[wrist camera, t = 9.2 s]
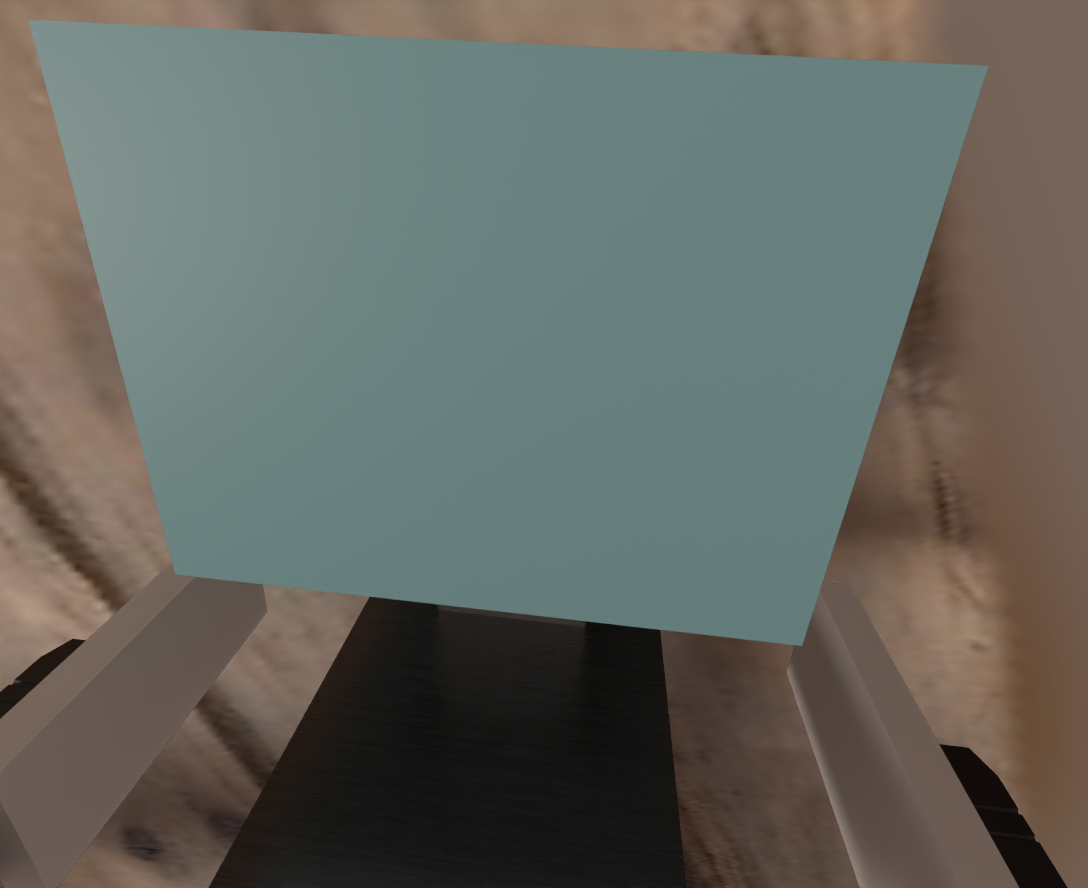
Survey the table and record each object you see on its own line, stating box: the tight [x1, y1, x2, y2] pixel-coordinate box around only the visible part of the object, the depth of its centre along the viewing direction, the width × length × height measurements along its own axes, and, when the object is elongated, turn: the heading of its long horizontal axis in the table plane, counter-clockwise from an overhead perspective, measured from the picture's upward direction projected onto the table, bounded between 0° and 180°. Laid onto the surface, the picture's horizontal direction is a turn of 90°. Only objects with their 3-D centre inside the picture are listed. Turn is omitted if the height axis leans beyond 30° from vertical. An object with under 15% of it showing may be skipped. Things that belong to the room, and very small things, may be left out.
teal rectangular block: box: [29, 20, 988, 646], centre depth 11 cm, size 6×8×11 cm
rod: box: [209, 597, 686, 888], centre depth 14 cm, size 25×6×10 cm, turn 177°
